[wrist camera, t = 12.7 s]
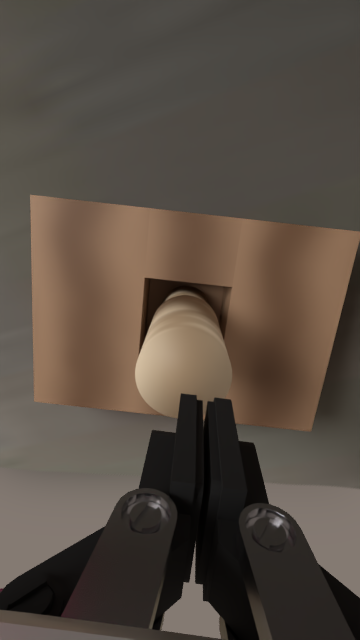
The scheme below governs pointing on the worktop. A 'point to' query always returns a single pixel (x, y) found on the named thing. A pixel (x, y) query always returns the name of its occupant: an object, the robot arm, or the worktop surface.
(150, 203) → the worktop surface
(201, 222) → the board
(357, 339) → the worktop surface
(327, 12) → the worktop surface
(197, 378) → the peg
